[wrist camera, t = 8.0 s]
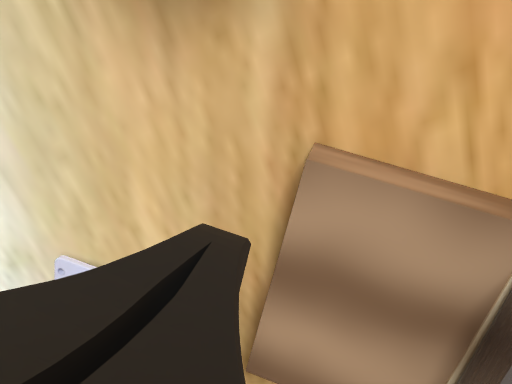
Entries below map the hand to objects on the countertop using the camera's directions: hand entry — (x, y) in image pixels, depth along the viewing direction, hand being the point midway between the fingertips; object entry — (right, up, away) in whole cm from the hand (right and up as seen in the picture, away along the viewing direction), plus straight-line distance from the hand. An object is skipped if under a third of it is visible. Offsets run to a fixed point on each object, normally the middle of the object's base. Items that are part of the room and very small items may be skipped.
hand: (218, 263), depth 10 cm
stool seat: (+8, -3, +9) cm, 13 cm away
